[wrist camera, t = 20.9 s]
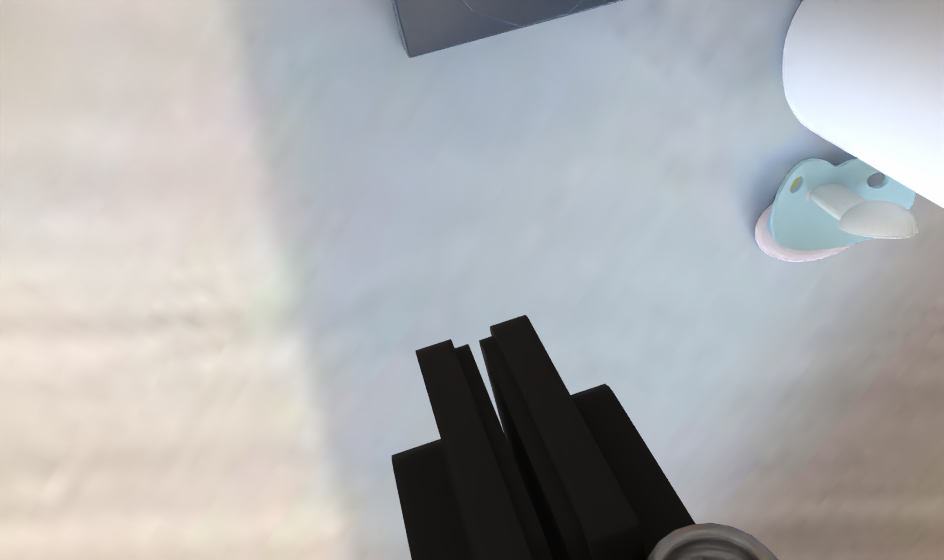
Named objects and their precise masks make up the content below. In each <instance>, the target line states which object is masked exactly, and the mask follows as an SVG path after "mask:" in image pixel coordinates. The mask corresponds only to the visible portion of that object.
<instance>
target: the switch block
mask: <svg viewBox="0 0 944 560" xmlns="http://www.w3.org/2000/svg"><path fill="white" fill-rule="evenodd" d="M619 1H623V0H392V4H393V8H394V12H395V16H396V20H397V24H398V28H399V32H400V36H401V40H402V43H403V47H404V49H405V51H406V53H407V55H408V56H409V57H410V58H412V57H415V56H419V55H423V54H426V53H430V52H434V51H438V50H441V49H445V48H449V47H452V46H456V45H460V44H464V43H467V42H471V41H475V40H478V39H482V38H486V37H489V36H493V35H497V34H501V33H504V32H508V31H512V30H515V29H519V28H523V27H527V26H530V25H534V24H538V23H541V22H545V21H549V20H553V19H556V18H560V17H564V16H567V15H571V14H575V13H579V12H582V11H586V10H590V9H593V8H597V7H601V6H605V5H608V4H612V3H616V2H619Z"/></svg>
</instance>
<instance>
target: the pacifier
mask: <svg viewBox="0 0 944 560" xmlns="http://www.w3.org/2000/svg"><path fill="white" fill-rule="evenodd" d="M880 172H881V171H879V170H877V169H875V168H874V167H872V166H870V165H869V164H867V163H865V162H863V161H862V160H860V159H858V158H854V159H851V160H848V161H846V162H844V163H842V164H840V165H836V166H833V165H832V164H831V163H829V162H827V161H825V160H822V159H818V158H809V159H805V160H803V161H801V162H799V163H798V164H796V165H795V166H794V167H793V168H792V169H791V170H790V171H789V172H788V174H787V175H786V176H785V178H784V180H783V181H782V183H781V185H780V187H779V189H778V191H777V194H776V197H775V200H774V202H773V203H772V204H771V205H769V206H768V207H767V208H766V209H765V211H764V212H763V213H762V214H761V215H760V217H759V219H758V221H757V224H756V226H755V239H756V241H757V244H758V246H759V247H760V248H761V249H762V250H763V251H764V252H765V253H766V254H768V255H770V256H772V257H774V258H776V259H780V260H785V261H790V262H807V261H813V260H819V259H822V258H826V257H829V256H832V255H835V254H837V253H839V252H840V251H842V250H844V249H846V248H848V247H849V246H851V245H853V244H856V243H860V242H864V241H867V240H870V239H873V238H885V239H898V238H908V237H912V236H915V235H916V234H917V232H918V226H917V222H916V219H915V218H914V216H913V215H912V214H911V213H910V212H909V210H910V208H911V207H912V205H913V201H914V199H915V194H916V192H915V191H913V190H912V189H910V188H908V187H906V186H905V185H903V184H901V183H900V182H898V181H896V180H894V179H893V178H891V177H889V176H888V175H886V174H884V175H885V179H884V181H883V182H882V183H881V184H879V185H876V186H869V185H868V183H867V181H868V178H869V177H870V176H871V175H872V174H874V173H880ZM881 173H882V172H881Z"/></svg>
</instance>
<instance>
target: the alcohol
mask: <svg viewBox="0 0 944 560" xmlns="http://www.w3.org/2000/svg"><path fill="white" fill-rule="evenodd" d="M782 80H783V85H784V90H785V95H786V99H787V101H788V103H789V105H790V107H791V110H792V112H793V113H794V114H795V116H796V117H797V118H798V119H799V121H800V122H801V123H802V124H803V125H804V126H805V127H807V128H808V129H810V130H811V131H812V132H814V133H815V134H817V135H819V136H820V137H822V138H824V139H826V140H827V141H829V142H831V143H832V144H834V145H836V146H838V147H839V148H841V149H843V150H844V151H846V152H848V153H850V154H851V155H853V156H855V157H857V158H858V159H860V160H862V161H863V162H865V163H867V164H869V165H870V166H872V167H874V168H875V169H877V170H879V171H881V172H882V173H884V174H886V175H888V176H889V177H891V178H893V179H894V180H896V181H898V182H900V183H901V184H903V185H905V186H906V187H908V188H910V189H912V190H913V191H915V192H917V193H918V194H920V195H922V196H924V197H925V198H927V199H929V200H931V201H932V202H934V203H936V204H937V205H939V206H941V207H943V208H944V0H802V2H801V4H800V6H799V7H798V9H797V11H796V13H795V15H794V17H793V19H792V21H791V24H790V27H789V30H788V32H787V35H786V39H785V45H784V50H783V77H782Z"/></svg>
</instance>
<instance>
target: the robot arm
mask: <svg viewBox="0 0 944 560" xmlns="http://www.w3.org/2000/svg"><path fill="white" fill-rule="evenodd" d="M490 331H491V335H492V336H491V337H488V338H485V339H482V340H479V342H480V347H481V351H482V354H483V358H484V362H485V365H486V369H487V372H488V376H489V380H490V383H491V387H492V391H493V394H494V398H495V402H496V405H497V409H498V413H499V416H500V420H501V424H502V427H503V430H502V427H501V425H500V422H499V420H498V417H497V415H496V412H495V410H494V407H493V405H492V402H491V400H490V397H489V395H488V392H487V390H486V387H485V385H484V382H483V380H482V377H481V375H480V372H479V370H478V367H477V365H476V362H475V360H474V357H473V355H472V352H471V350H470V347H469V345H468V344H467V345H464V346H461V347H458V348H454V346H453V343H452V340H451V339H450V340H447V341H444V342H441V343H438V344H434V345H431V346H428V347H425V348H422V349H419V350H416V355H417V358H418V362H419V365H420V369H421V372H422V375H423V379H424V382H425V386H426V389H427V393H428V396H429V399H430V403H431V406H432V410H433V413H434V416H435V420H436V423H437V427H438V430H439V434H440V437H441V439H439V440H436V441H433V442H430V443H427V444H424V445H421V446H418V447H415V448H412V449H409V450H406V451H403V452H400V453H397V454H394V455H392V464H393V470H394V475H395V479H396V484H397V489H398V494H399V499H400V504H401V509H402V514H403V519H404V524H405V529H406V534H407V539H408V543H409V548H410V553H411V558H412V560H778V559H777V557H776V556H775V555H774V554H773V553H772V552H771V551H770V550H769V549H768V548H767V547H766V546H764V545H763V544H762V543H761V542H759V541H758V540H757V539H756V538H754V537H753V536H752V535H750V534H748V533H745V532H743V531H741V530H739V529H736V528H734V527H731V526H725V525H720V524H714V523H707V524H695V522H694V521H693V519H692V518H691V516H690V514H689V513H688V511H687V510H686V508H685V506H684V505H683V503H682V502H681V500H680V498H679V497H678V495H677V494H676V492H675V490H674V489H673V487H672V486H671V484H670V482H669V481H668V479H667V478H666V476H665V474H664V473H663V471H662V470H661V468H660V466H659V465H658V463H657V462H656V460H655V458H654V457H653V455H652V454H651V452H650V450H649V449H648V447H647V445H646V444H645V442H644V441H643V439H642V437H641V436H640V434H639V433H638V431H637V429H636V428H635V426H634V425H633V423H632V421H631V420H630V418H629V417H628V415H627V413H626V412H625V410H624V409H623V407H622V405H621V404H620V402H619V401H618V399H617V397H616V396H615V394H614V393H613V391H612V390H611V389H610V387H609V386H607V385H606V384H603V385H600V386H597V387H594V388H591V389H588V390H585V391H582V392H579V393H576V394H573V395H570V394H569V392H568V390H567V388H566V387H565V385H564V383H563V381H562V379H561V377H560V376H559V374H558V372H557V370H556V368H555V366H554V365H553V363H552V361H551V359H550V357H549V355H548V353H547V352H546V350H545V348H544V346H543V344H542V342H541V341H540V339H539V337H538V335H537V333H536V331H535V330H534V328H533V326H532V324H531V322H530V320H529V319H528V317H527V316H526V315H524V316H520V317H517V318H514V319H511V320H508V321H505V322H502V323H499V324H496V325H493V326H490ZM503 431H504V432H503Z"/></svg>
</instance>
